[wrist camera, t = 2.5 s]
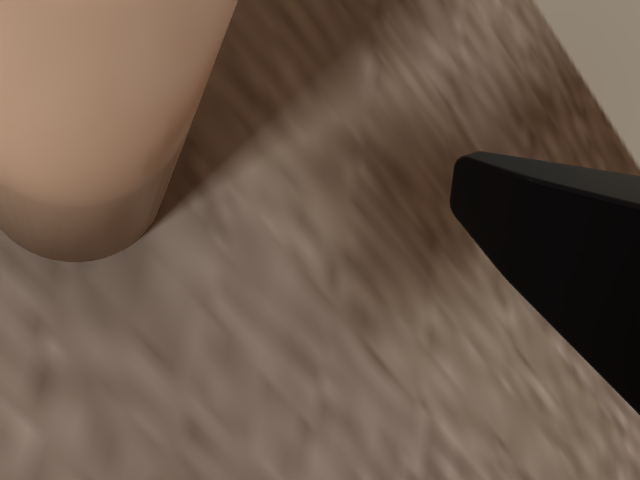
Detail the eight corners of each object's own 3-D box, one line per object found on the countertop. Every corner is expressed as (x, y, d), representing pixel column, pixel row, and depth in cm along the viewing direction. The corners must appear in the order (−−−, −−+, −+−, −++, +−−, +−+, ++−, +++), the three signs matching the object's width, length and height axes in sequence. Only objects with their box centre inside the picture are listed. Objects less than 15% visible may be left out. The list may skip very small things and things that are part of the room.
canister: (186, 140, 22) (324, -225, 9) (129, 285, 20) (204, 83, 7) (25, 74, 20) (-77, -466, 8) (-52, 224, 18) (-358, -163, 6)
